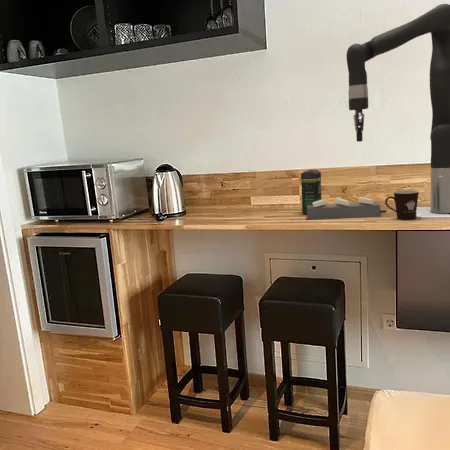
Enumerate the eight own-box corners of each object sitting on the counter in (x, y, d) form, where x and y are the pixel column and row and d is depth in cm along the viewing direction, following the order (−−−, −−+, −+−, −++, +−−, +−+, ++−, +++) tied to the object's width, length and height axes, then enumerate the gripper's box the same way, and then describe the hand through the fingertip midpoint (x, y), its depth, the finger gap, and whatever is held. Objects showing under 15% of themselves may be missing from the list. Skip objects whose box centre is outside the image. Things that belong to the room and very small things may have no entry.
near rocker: (371, 203, 192) (372, 199, 191) (372, 204, 188) (373, 200, 188) (358, 200, 192) (359, 196, 192) (359, 202, 189) (360, 197, 188)
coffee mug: (418, 216, 183) (418, 189, 181) (419, 220, 175) (419, 193, 173) (385, 216, 187) (385, 190, 185) (385, 221, 179) (385, 194, 177)
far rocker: (326, 202, 195) (325, 198, 194) (326, 203, 191) (325, 199, 191) (313, 206, 196) (312, 202, 196) (313, 207, 192) (312, 203, 192)
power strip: (384, 212, 195) (384, 200, 194) (387, 216, 187) (387, 203, 186) (307, 216, 201) (307, 204, 200) (307, 219, 193) (306, 207, 192)
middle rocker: (348, 204, 193) (349, 200, 193) (348, 206, 190) (350, 202, 189) (335, 201, 194) (336, 197, 194) (335, 202, 190) (336, 198, 190)
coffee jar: (318, 215, 201) (316, 170, 198) (300, 215, 205) (298, 171, 201) (324, 211, 210) (322, 168, 206) (307, 211, 213) (304, 168, 210)
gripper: (370, 95, 185) (371, 141, 188) (366, 97, 197) (367, 140, 201) (349, 97, 186) (351, 142, 189) (347, 99, 199) (348, 141, 202)
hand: (359, 141), depth 195 cm, fingers closed
